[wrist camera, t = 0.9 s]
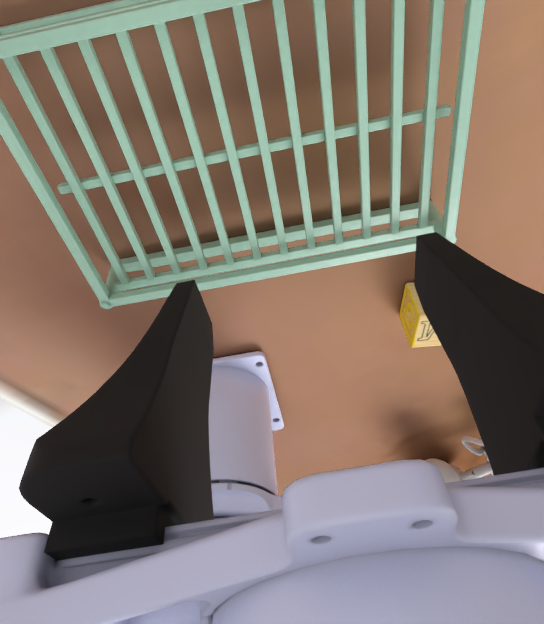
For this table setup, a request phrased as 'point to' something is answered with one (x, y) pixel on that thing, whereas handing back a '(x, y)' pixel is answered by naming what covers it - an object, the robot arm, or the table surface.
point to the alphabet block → (416, 320)
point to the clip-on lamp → (456, 474)
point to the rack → (183, 3)
